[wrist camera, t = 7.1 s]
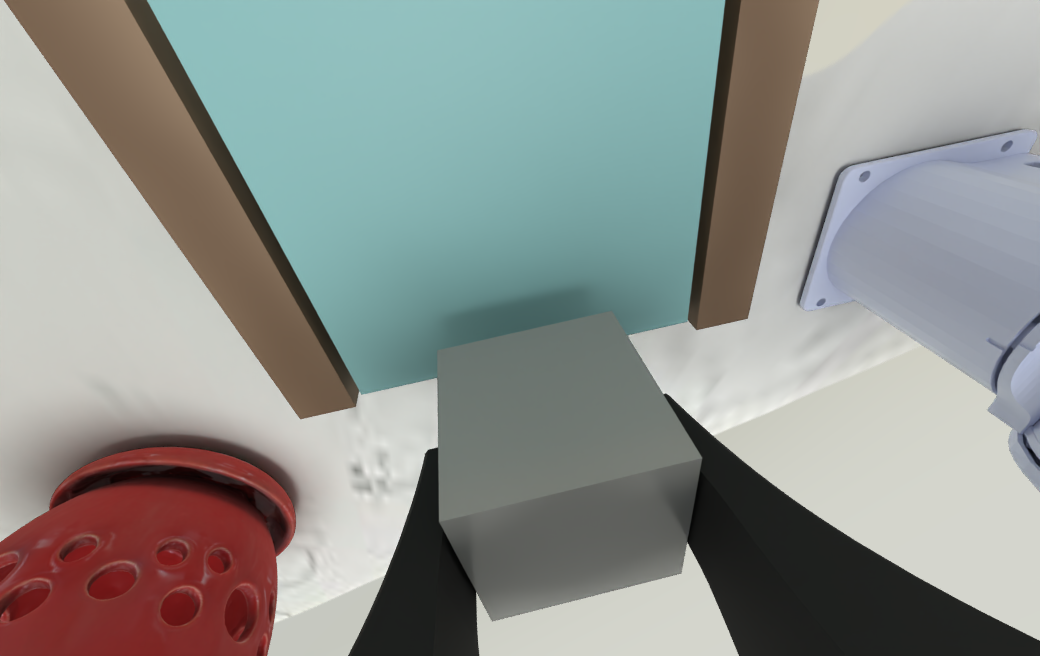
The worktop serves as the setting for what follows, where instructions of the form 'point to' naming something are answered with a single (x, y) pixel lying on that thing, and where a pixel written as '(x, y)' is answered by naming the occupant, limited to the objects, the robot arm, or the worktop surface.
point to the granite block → (560, 466)
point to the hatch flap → (464, 159)
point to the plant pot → (148, 560)
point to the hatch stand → (255, 249)
